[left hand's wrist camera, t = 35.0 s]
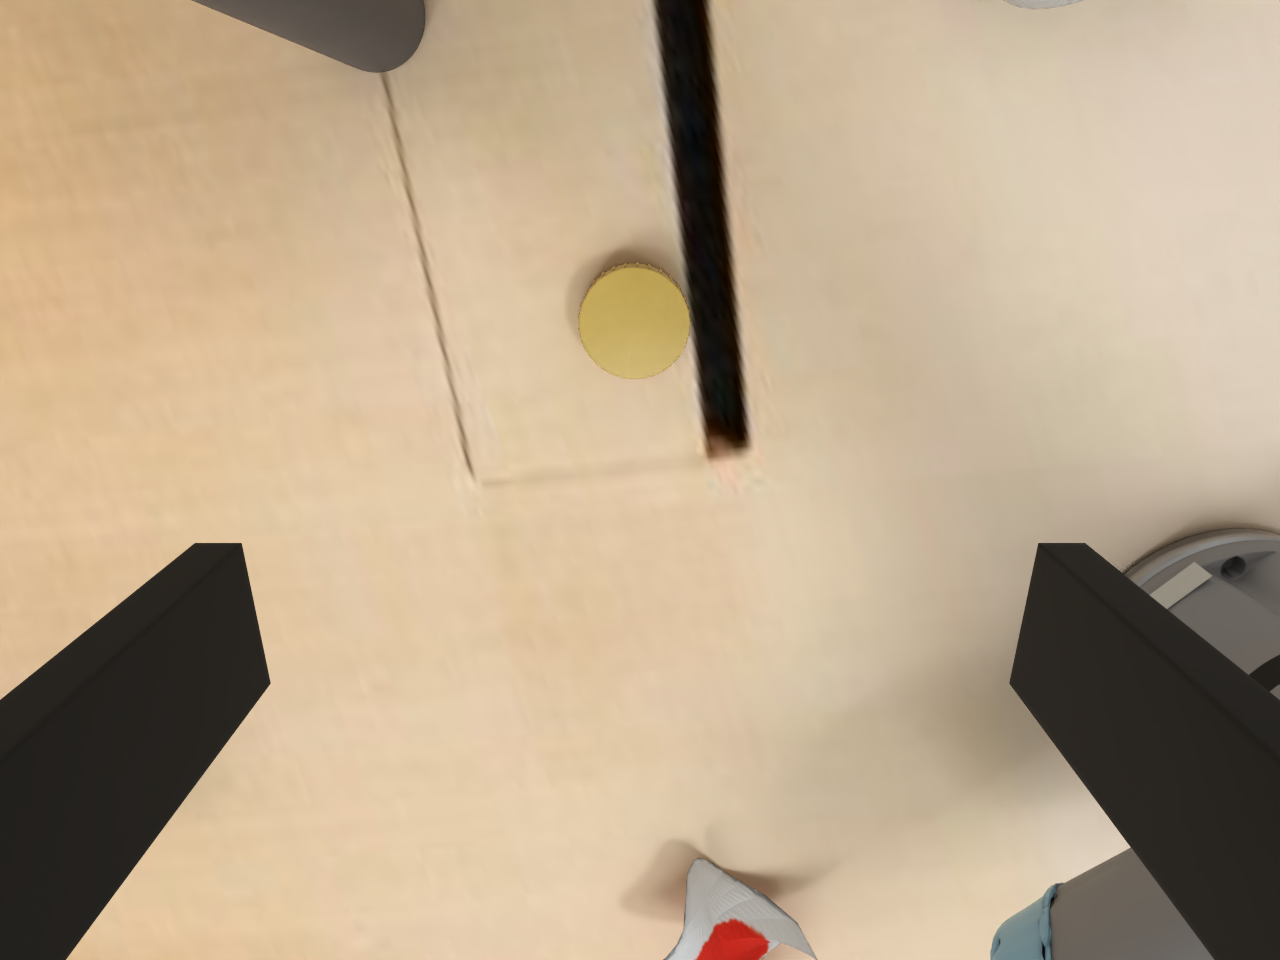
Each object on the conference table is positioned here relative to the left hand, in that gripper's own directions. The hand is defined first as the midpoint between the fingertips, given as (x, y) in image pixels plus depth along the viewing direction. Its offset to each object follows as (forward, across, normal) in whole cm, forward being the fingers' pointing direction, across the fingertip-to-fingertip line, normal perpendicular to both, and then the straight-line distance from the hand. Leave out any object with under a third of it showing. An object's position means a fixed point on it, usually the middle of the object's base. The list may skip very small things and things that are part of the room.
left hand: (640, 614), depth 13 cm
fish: (+30, -6, +44) cm, 53 cm away
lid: (+28, 0, 0) cm, 28 cm away
